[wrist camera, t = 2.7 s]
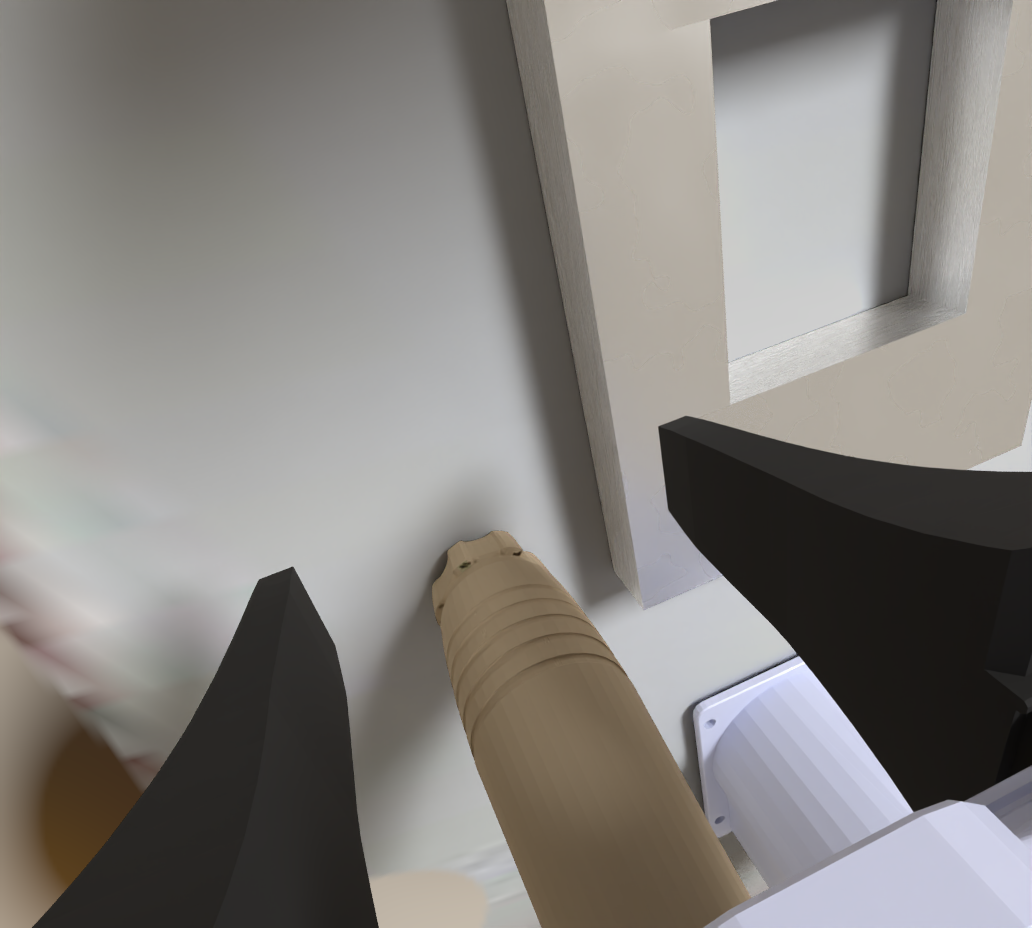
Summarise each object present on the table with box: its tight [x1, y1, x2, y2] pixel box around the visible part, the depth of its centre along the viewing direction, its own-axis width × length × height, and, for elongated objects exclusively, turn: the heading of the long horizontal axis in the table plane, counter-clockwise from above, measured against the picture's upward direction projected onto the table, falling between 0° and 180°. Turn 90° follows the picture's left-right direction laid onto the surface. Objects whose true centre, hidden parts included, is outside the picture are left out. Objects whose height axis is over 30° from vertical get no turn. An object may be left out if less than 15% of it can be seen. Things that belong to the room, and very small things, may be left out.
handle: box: [432, 531, 751, 928], centre depth 14 cm, size 5×6×15 cm
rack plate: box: [506, 0, 1032, 610], centre depth 16 cm, size 20×14×2 cm
